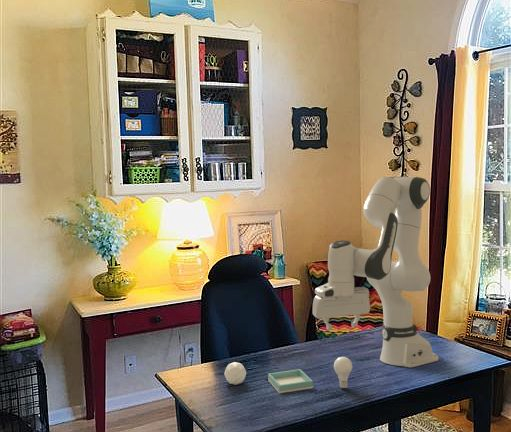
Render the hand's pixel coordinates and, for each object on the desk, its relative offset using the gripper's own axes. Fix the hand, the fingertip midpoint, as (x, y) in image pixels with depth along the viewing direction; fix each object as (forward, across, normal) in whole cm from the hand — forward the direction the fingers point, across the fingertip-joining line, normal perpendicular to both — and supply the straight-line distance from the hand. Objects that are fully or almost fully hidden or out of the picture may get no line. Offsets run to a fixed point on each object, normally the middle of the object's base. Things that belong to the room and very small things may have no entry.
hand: (341, 328), depth 198 cm
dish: (+21, +16, -10) cm, 28 cm away
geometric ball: (+22, +34, -18) cm, 44 cm away
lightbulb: (+21, 0, 0) cm, 21 cm away
